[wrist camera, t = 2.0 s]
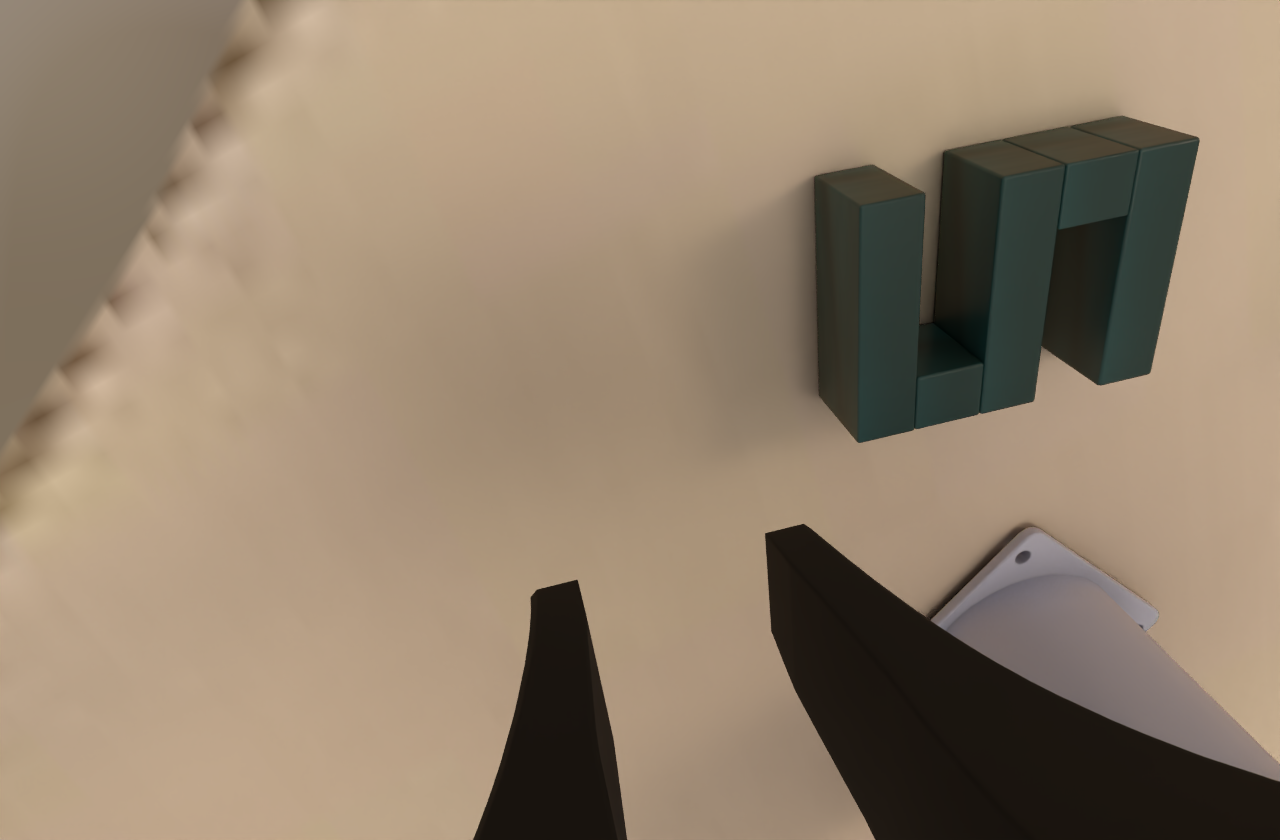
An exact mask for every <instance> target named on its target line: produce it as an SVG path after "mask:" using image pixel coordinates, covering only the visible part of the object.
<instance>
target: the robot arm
mask: <svg viewBox="0 0 1280 840" xmlns="http://www.w3.org/2000/svg"><path fill="white" fill-rule="evenodd" d="M765 539H766V554H767V569H768V585H769V600H770V616H771V631H772V634H773V636H774V639H775V641H776V644H777V646H778V649H779V651H780V654H781V657H782V659H783V662H784V664H785V667H786V669H787V672H788V674H789V676H790V679H791V681H792V684H793V686H794V689H795V691H796V693H797V695H798V697H799V699H800V700H801V702H802V704H803V706H804V708H805V710H806V712H807V713H808V715H809V717H810V719H811V721H812V723H813V725H814V726H815V728H816V730H817V732H818V734H819V736H820V738H821V739H822V741H823V743H824V745H825V747H826V748H827V750H828V752H829V754H830V756H831V758H832V759H833V761H834V763H835V765H836V767H837V769H838V770H839V772H840V774H841V776H842V778H843V780H844V781H845V783H846V785H847V787H848V789H849V790H850V792H851V794H852V796H853V798H854V800H855V801H856V803H857V805H858V807H859V809H860V811H861V812H862V814H863V816H864V818H865V820H866V822H867V824H868V826H869V828H870V830H871V832H872V834H873V836H874V838H875V840H1280V764H1279V763H1278V762H1277V761H1276V760H1275V759H1274V758H1273V757H1272V756H1271V755H1270V754H1269V753H1268V752H1267V751H1266V750H1265V749H1264V748H1263V747H1262V746H1261V745H1260V744H1259V743H1258V742H1257V741H1256V740H1255V739H1254V738H1253V737H1252V736H1251V735H1250V734H1249V733H1248V732H1247V731H1246V730H1245V729H1244V728H1243V727H1242V726H1241V725H1240V724H1239V723H1238V722H1237V721H1236V720H1235V719H1234V718H1233V717H1232V716H1231V715H1229V714H1228V713H1227V712H1226V711H1225V710H1224V709H1223V708H1222V707H1221V706H1220V705H1219V704H1218V703H1217V702H1216V701H1215V700H1214V699H1213V698H1212V697H1211V696H1210V695H1209V694H1208V693H1207V692H1206V691H1205V690H1204V689H1203V688H1202V687H1201V686H1200V685H1199V684H1198V683H1197V682H1196V681H1195V680H1194V679H1193V678H1192V677H1191V676H1190V675H1189V674H1188V673H1187V672H1186V671H1185V670H1184V669H1183V668H1182V667H1181V666H1180V665H1179V664H1178V663H1177V662H1176V661H1175V660H1174V659H1173V658H1172V657H1171V656H1170V655H1169V654H1168V653H1167V652H1166V651H1165V650H1164V649H1163V648H1162V647H1161V646H1160V645H1159V644H1158V643H1157V642H1156V641H1155V640H1154V639H1152V638H1151V637H1150V636H1149V635H1148V634H1147V633H1146V631H1147V630H1148V629H1149V628H1150V627H1151V626H1153V625H1154V624H1155V622H1156V621H1157V619H1158V617H1159V612H1158V611H1157V610H1156V609H1155V608H1154V607H1153V606H1152V605H1151V604H1150V603H1148V602H1147V601H1145V600H1144V599H1142V598H1141V597H1140V596H1138V595H1137V594H1135V593H1134V592H1132V591H1131V590H1129V589H1128V588H1126V587H1125V586H1123V585H1122V584H1120V583H1119V582H1117V581H1116V580H1115V579H1113V578H1112V577H1110V576H1109V575H1107V574H1106V573H1104V572H1103V571H1101V570H1100V569H1098V568H1097V567H1095V566H1094V565H1092V564H1091V563H1090V562H1088V561H1087V560H1085V559H1084V558H1082V557H1081V556H1079V555H1078V554H1076V553H1075V552H1073V551H1072V550H1070V549H1069V548H1067V547H1066V546H1065V545H1063V544H1062V543H1060V542H1059V541H1057V540H1056V539H1054V538H1053V537H1051V536H1050V535H1048V534H1047V533H1045V532H1044V531H1042V530H1041V529H1040V528H1037V527H1028V528H1026V529H1024V530H1022V531H1021V532H1019V533H1018V534H1017V535H1016V536H1015V537H1014V538H1013V539H1012V540H1011V541H1010V542H1009V543H1008V544H1007V545H1006V546H1005V547H1004V548H1003V549H1002V550H1001V551H1000V552H999V553H998V554H997V555H996V556H995V557H994V558H993V559H992V560H991V561H990V562H989V563H988V564H987V565H986V566H985V567H984V568H983V569H982V570H981V571H980V572H979V573H978V574H977V575H976V576H975V577H974V578H973V579H972V580H971V581H970V582H969V583H968V584H967V585H966V586H965V587H964V588H963V589H962V590H961V591H960V592H959V593H957V594H956V595H955V596H954V597H953V598H952V599H951V600H950V601H949V602H948V603H947V604H946V605H945V606H944V607H943V608H942V609H941V610H940V611H939V612H938V613H937V614H936V615H935V616H934V617H933V618H932V619H931V620H929V619H928V618H926V617H925V616H923V615H922V614H920V613H919V612H917V611H916V610H915V609H913V608H912V607H911V606H909V605H908V604H906V603H905V602H904V601H902V600H901V599H900V598H898V597H897V596H895V595H894V594H893V593H891V592H890V591H889V590H887V589H886V588H884V587H883V586H882V585H880V584H879V583H878V582H877V581H875V580H874V579H873V578H871V577H870V576H869V575H867V574H866V573H865V572H864V571H862V570H861V569H860V568H859V567H857V566H856V565H855V564H853V563H852V562H851V561H850V560H848V559H847V558H846V557H845V556H844V555H842V554H841V553H840V552H839V551H837V550H836V549H835V548H834V547H832V546H831V545H830V544H829V543H828V542H826V541H825V540H824V539H823V538H822V537H820V536H819V535H818V534H817V533H815V532H814V531H813V530H812V529H811V528H809V527H808V526H806V525H805V524H801V525H797V526H793V527H789V528H785V529H781V530H777V531H773V532H769V533H765ZM473 840H627V836H626V829H625V821H624V814H623V806H622V799H621V791H620V784H619V776H618V769H617V762H616V754H615V747H614V740H613V735H612V730H611V726H610V721H609V717H608V712H607V708H606V703H605V699H604V694H603V690H602V685H601V680H600V676H599V671H598V667H597V662H596V658H595V653H594V649H593V644H592V640H591V635H590V630H589V626H588V621H587V617H586V612H585V608H584V604H583V600H582V596H581V592H580V588H579V584H578V580H574V581H570V582H566V583H562V584H558V585H554V586H550V587H546V588H542V589H538V590H536V591H535V593H534V594H533V595H532V596H531V620H530V632H529V641H528V648H527V654H526V661H525V667H524V671H523V676H522V681H521V686H520V690H519V695H518V700H517V705H516V709H515V713H514V717H513V721H512V724H511V728H510V731H509V735H508V738H507V742H506V745H505V749H504V753H503V756H502V760H501V763H500V766H499V770H498V773H497V776H496V779H495V782H494V785H493V788H492V791H491V793H490V796H489V799H488V802H487V805H486V807H485V810H484V813H483V815H482V818H481V821H480V824H479V826H478V829H477V831H476V834H475V836H474V839H473Z"/></svg>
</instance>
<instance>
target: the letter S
mask: <svg viewBox="0 0 1280 840" xmlns="http://www.w3.org/2000/svg"><path fill="white" fill-rule="evenodd" d="M1199 141H1200V140H1199V138H1198V137H1195V136H1192V135H1188V134H1185V133H1181V132H1178V131H1174V130H1171V129H1167V128H1164V127H1160V126H1157V125H1153V124H1150V123H1146V122H1142V121H1139V120H1135V119H1132V118H1128V117H1125V116H1120V117H1115V118H1110V119H1105V120H1100V121H1095V122H1090V123H1085V124H1080V125H1075V126H1071V127H1063V128H1058V129H1053V130H1047V131H1042V132H1037V133H1032V134H1027V135H1022V136H1017V137H1012V138H1007V139H1003V140H998V141H993V142H988V143H983V144H977V145H972V146H967V147H962V148H957V149H952V150H947V151H945V153H944V167H943V184H942V201H941V218H940V235H939V252H938V269H937V286H936V303H935V320H934V324H933V323H929V324H925V325H920V326H919V316H920V296H921V275H922V255H923V234H924V214H925V193H924V192H922V191H920V190H918V189H917V188H915V187H913V186H911V185H909V184H908V183H906V182H904V181H902V180H900V179H898V178H897V177H895V176H893V175H891V174H889V173H887V172H886V171H884V170H882V169H880V168H878V167H877V166H875V165H870V166H865V167H859V168H854V169H849V170H844V171H839V172H834V173H829V174H824V175H819V176H816V177H815V217H816V267H817V317H818V367H819V396H820V398H821V399H822V400H823V401H824V403H825V404H826V405H827V406H828V407H829V409H830V410H831V411H832V412H833V413H834V415H835V416H836V417H837V418H838V419H839V421H840V422H841V423H842V424H843V425H844V427H845V428H846V429H847V430H848V431H849V433H850V434H851V435H852V436H853V437H854V439H855V440H856V441H857V442H858V443H862V442H866V441H870V440H874V439H879V438H883V437H887V436H891V435H895V434H900V433H904V432H908V431H912V430H914V428H915V429H919V428H923V427H928V426H932V425H936V424H940V423H945V422H949V421H953V420H957V419H961V418H966V417H970V416H974V415H977V414H979V413H982V414H983V413H987V412H991V411H996V410H1000V409H1004V408H1008V407H1013V406H1017V405H1021V404H1025V403H1029V402H1033V401H1034V398H1035V391H1036V383H1037V376H1038V368H1039V361H1040V353H1041V346H1042V347H1043V348H1045V349H1046V350H1048V351H1049V352H1051V353H1052V354H1053V355H1055V356H1056V357H1058V358H1059V359H1061V360H1062V361H1064V362H1065V363H1066V364H1068V365H1069V366H1071V367H1072V368H1074V369H1075V370H1077V371H1078V372H1079V373H1081V374H1082V375H1084V376H1085V377H1087V378H1088V379H1090V380H1091V381H1092V382H1094V383H1095V384H1097V385H1105V384H1109V383H1113V382H1118V381H1122V380H1126V379H1130V378H1134V377H1139V376H1143V375H1147V374H1149V373H1150V372H1151V367H1152V363H1153V358H1154V353H1155V349H1156V344H1157V339H1158V334H1159V330H1160V325H1161V320H1162V316H1163V311H1164V306H1165V301H1166V297H1167V292H1168V287H1169V283H1170V278H1171V273H1172V268H1173V264H1174V259H1175V254H1176V250H1177V245H1178V240H1179V235H1180V231H1181V226H1182V221H1183V217H1184V212H1185V207H1186V202H1187V198H1188V193H1189V188H1190V184H1191V179H1192V174H1193V169H1194V165H1195V160H1196V155H1197V151H1198V146H1199Z"/></svg>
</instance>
